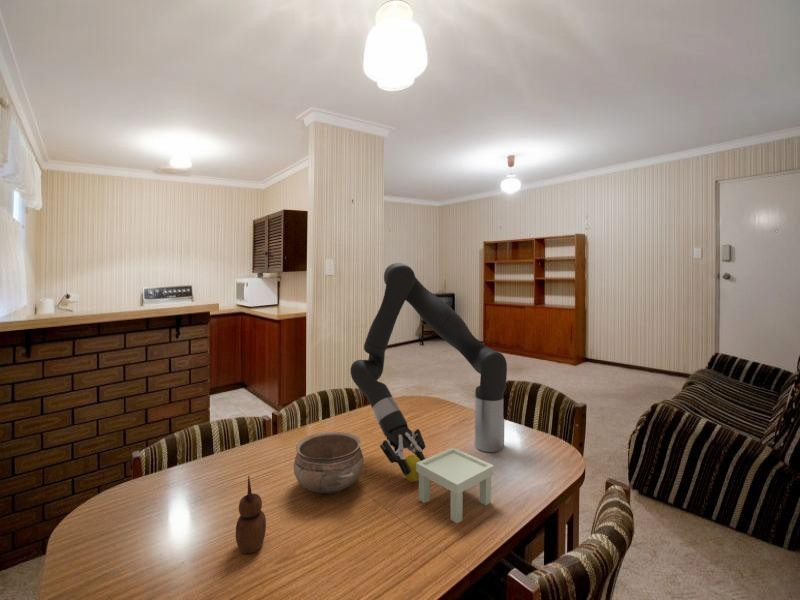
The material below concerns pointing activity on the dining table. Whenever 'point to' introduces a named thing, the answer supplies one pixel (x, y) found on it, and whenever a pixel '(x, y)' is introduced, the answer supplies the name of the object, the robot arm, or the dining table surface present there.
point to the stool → (455, 477)
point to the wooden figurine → (250, 523)
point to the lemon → (412, 468)
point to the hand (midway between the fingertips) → (416, 469)
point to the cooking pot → (328, 461)
